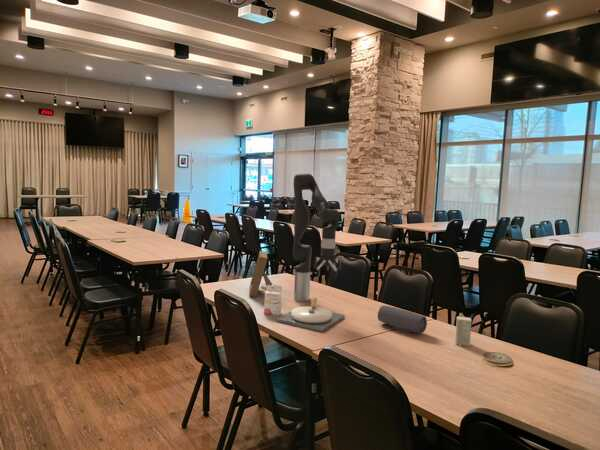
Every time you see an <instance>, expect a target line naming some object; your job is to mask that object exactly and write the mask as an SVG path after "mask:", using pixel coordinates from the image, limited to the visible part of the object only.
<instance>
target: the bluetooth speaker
mask: <svg viewBox="0 0 600 450" xmlns="http://www.w3.org/2000/svg"><path fill="white" fill-rule="evenodd" d="M377 319H378V321H379V322H381V323H383V324H386V325H388V326H390V327H391V328H393V329H395V330H398V331H401V330H402V331H401V332H405V331H406V332H405V333H411V332H413V333H416V334H423V333H424V332H425V331H426V329H427V325H428V320H427V317H426V316H425V315H422V314H420V313H417V312H413V311H410V310H407V309H402V308H398V307H395V306H390V305H383V304H382V305H381V306H380V307H379V309H378V312H377Z"/></svg>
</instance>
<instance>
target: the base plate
mask: <svg viewBox="0 0 600 450" xmlns="http://www.w3.org/2000/svg"><path fill="white" fill-rule="evenodd" d="M300 307H304V306H303V305H301V306H300ZM345 317H346V316H345V314H341V313H337V312H332V319H331V320H329V321H327V322H323V323H305V322H300V321H297V320H295V319H293V318H292V317H291V311H289V312H287V313H285V314H283V315H281V316H279V317H277V318H276V322H277V323H281V324H285V325H290V326H294V327H298V328H303V329H306V330H310V331H316V332H318V333H319V332H320V333H324V332H325V331H327V330H329V329H330V328H332V327H333V326H334V325H336V324H337V323H339V322H341V321H342V320H343V319H345Z"/></svg>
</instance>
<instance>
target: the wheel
mask: <svg viewBox="0 0 600 450" xmlns="http://www.w3.org/2000/svg"><path fill="white" fill-rule="evenodd" d="M310 301H311V302H310V305H309V306H303V307H301V306H298V307H294V308H293V309H292V310H291V311H290V312H291V317H292V318H293V319H295V320H297V321H300V322H305V323H323V322H327V321H329V320H331V319H332V313H333V312H332V311H331V310H329V309H327V308H324V307H321V306H320V307H319V306H318V297H311V300H310Z"/></svg>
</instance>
